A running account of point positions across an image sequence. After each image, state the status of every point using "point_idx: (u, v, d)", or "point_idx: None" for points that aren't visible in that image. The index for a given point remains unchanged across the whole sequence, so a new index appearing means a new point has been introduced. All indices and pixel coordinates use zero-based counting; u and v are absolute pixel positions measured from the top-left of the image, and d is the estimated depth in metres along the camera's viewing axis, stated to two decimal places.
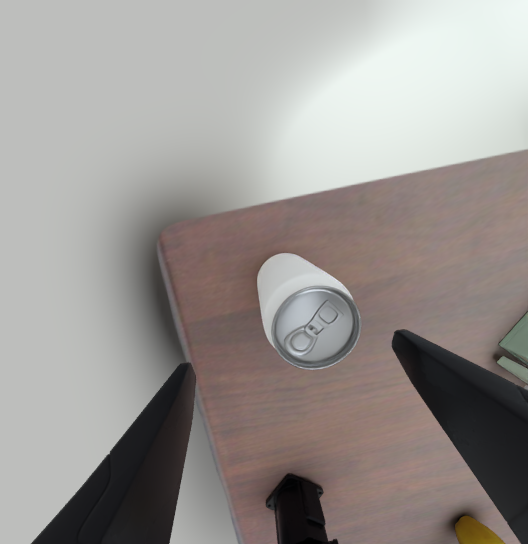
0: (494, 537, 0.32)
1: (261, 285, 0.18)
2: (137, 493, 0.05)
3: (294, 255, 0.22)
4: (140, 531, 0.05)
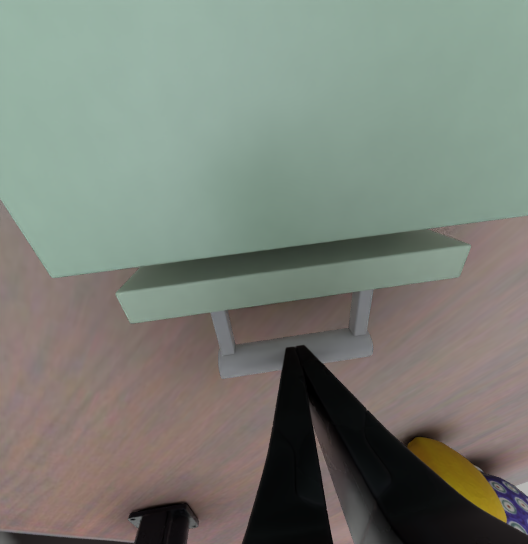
0: (444, 473, 0.19)
1: None
2: None
3: None
4: None
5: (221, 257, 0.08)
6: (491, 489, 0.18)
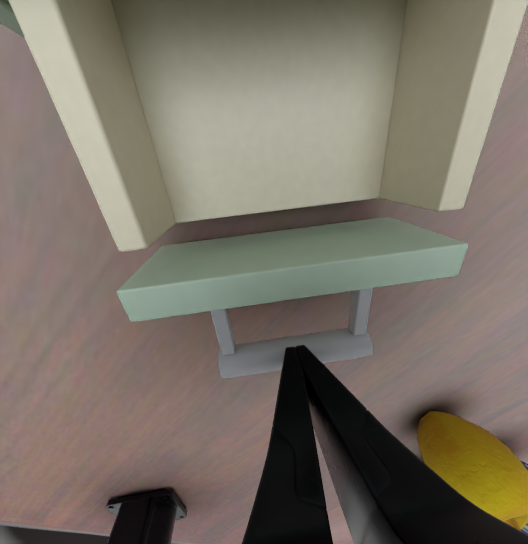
0: (465, 445, 0.16)
1: None
2: None
3: None
4: None
5: (221, 256, 0.08)
6: (521, 463, 0.15)
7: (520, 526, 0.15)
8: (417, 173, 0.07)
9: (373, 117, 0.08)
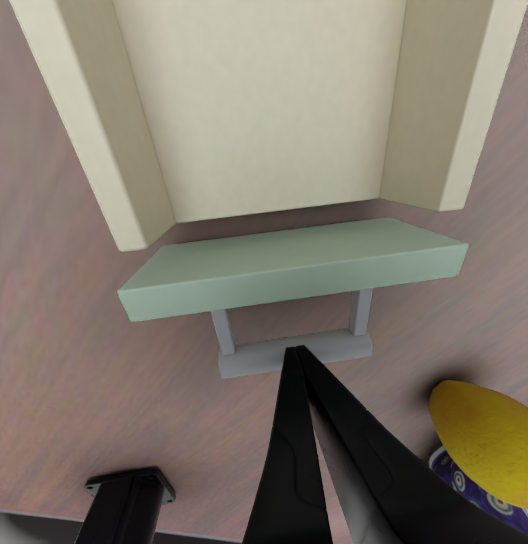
0: (488, 411, 0.14)
1: None
2: None
3: None
4: None
5: (221, 257, 0.08)
6: None
7: None
8: (417, 173, 0.07)
9: (373, 117, 0.08)
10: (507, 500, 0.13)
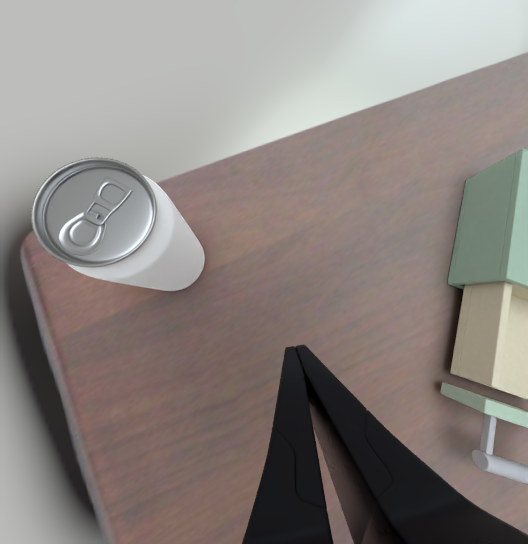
0: None
1: None
2: None
3: None
4: None
5: (495, 400, 0.20)
6: None
7: None
8: None
9: None
10: None
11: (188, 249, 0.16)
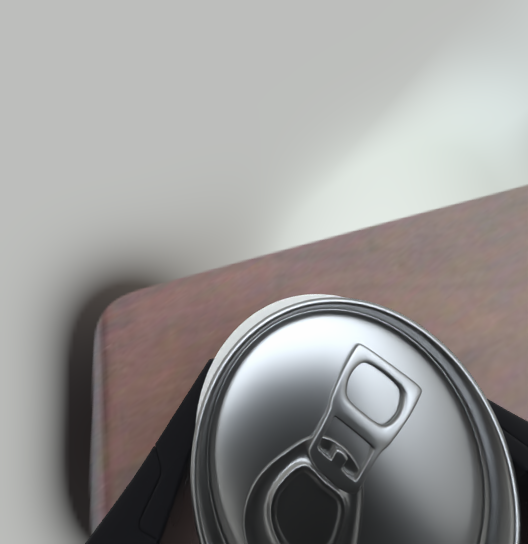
0: None
1: None
2: (187, 484, 0.05)
3: None
4: (190, 522, 0.05)
5: None
6: None
7: None
8: None
9: None
10: None
11: None
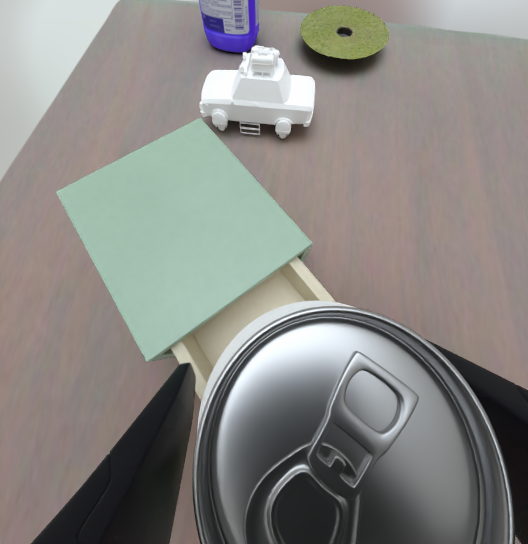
0: None
1: None
2: (137, 493, 0.05)
3: None
4: (140, 531, 0.05)
5: None
6: None
7: None
8: None
9: None
10: None
11: None
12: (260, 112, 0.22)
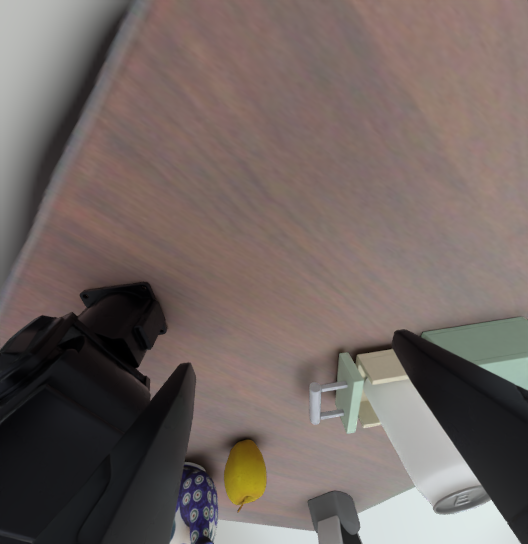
0: (263, 462, 0.33)
1: None
2: (137, 493, 0.05)
3: None
4: (140, 531, 0.05)
5: None
6: None
7: (241, 503, 0.31)
8: (366, 415, 0.30)
9: None
10: (239, 492, 0.30)
11: None
12: None
